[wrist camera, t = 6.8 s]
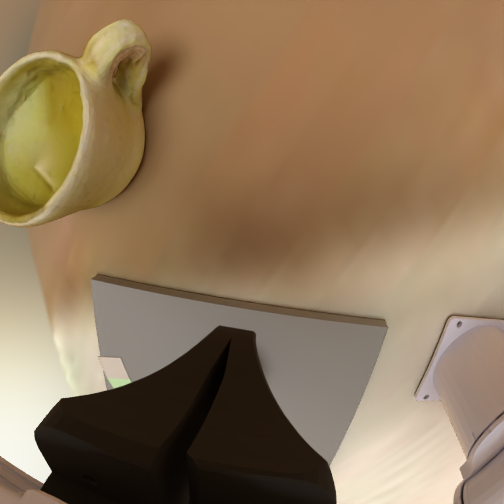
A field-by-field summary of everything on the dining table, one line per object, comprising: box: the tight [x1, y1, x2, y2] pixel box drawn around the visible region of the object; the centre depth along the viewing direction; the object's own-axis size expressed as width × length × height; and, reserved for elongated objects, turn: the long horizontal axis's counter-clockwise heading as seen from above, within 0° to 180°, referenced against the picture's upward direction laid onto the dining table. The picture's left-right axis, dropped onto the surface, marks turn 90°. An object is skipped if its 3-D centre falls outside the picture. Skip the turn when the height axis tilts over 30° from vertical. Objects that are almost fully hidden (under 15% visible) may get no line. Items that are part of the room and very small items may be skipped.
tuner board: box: [91, 275, 388, 466], centre depth 24 cm, size 21×22×1 cm
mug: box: [0, 19, 152, 227], centre depth 16 cm, size 12×10×10 cm
